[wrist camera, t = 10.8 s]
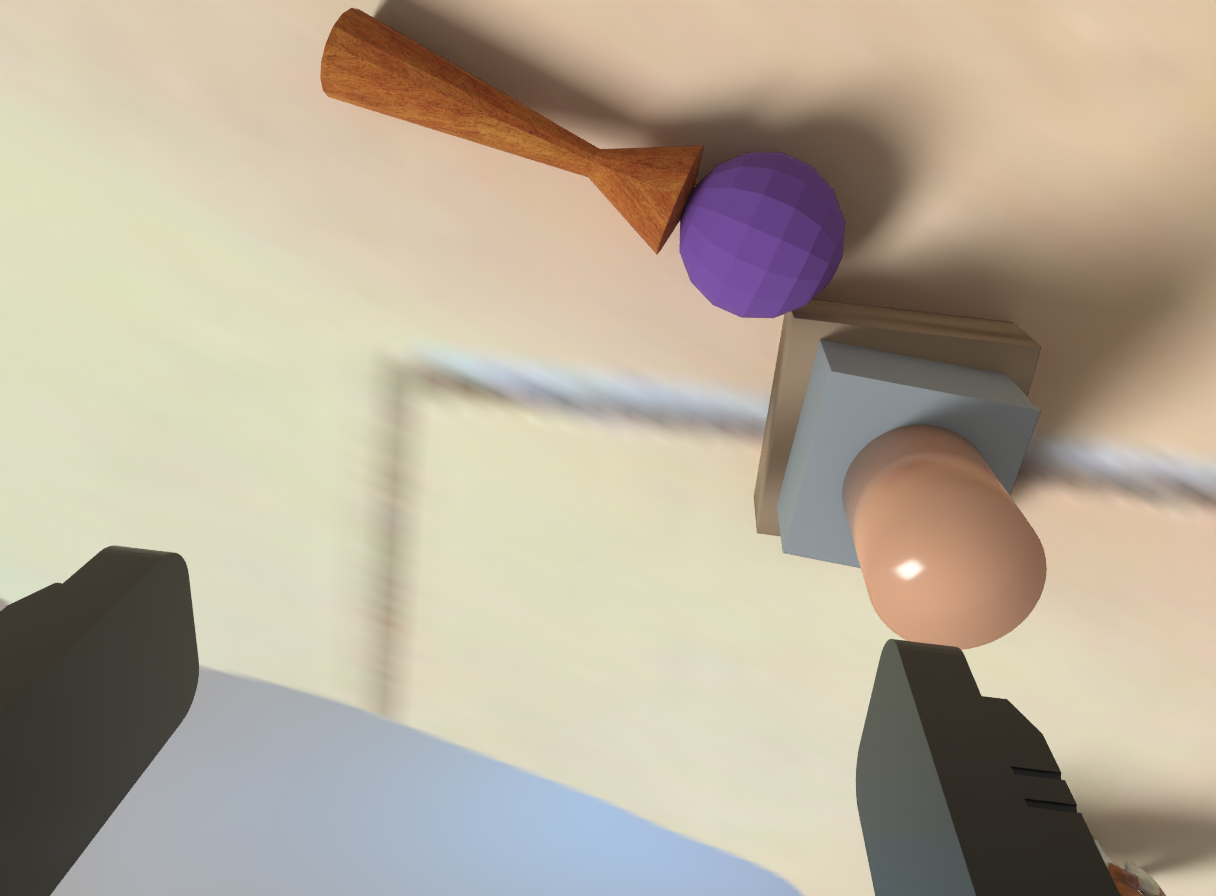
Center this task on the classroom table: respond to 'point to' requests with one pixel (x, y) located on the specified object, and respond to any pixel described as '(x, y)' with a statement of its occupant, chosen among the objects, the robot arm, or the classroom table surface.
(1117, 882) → the bull figurine
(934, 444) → the terracotta cylinder
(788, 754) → the classroom table surface
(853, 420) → the top block
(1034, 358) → the bottom block
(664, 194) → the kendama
